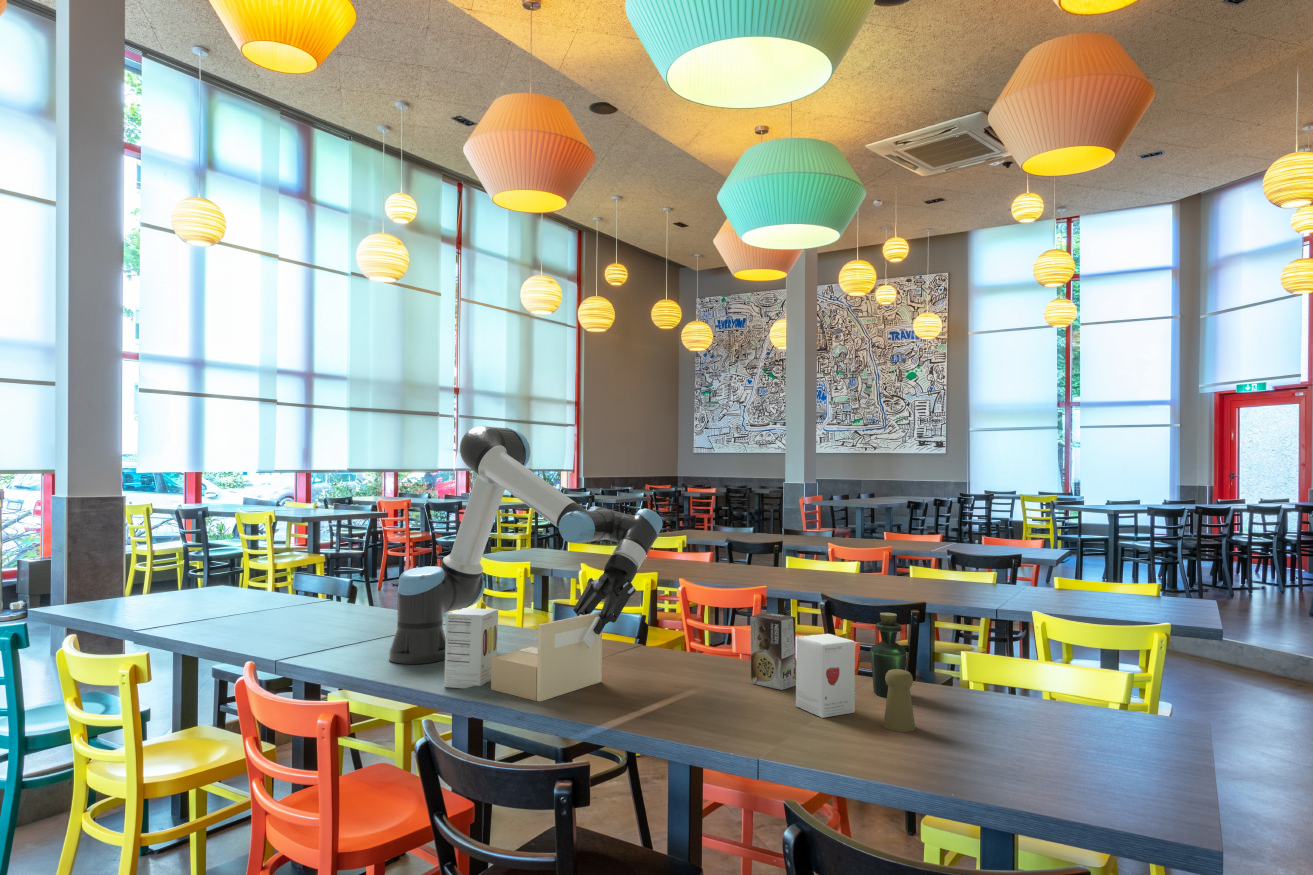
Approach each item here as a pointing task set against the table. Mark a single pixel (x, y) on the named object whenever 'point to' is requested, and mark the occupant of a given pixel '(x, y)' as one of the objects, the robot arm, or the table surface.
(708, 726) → the table surface
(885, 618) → the potion bottle
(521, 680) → the carton
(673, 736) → the table surface
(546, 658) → the carton flap
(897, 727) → the olive pawn
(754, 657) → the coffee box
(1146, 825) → the table surface
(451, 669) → the supplement box
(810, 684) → the supplement box
